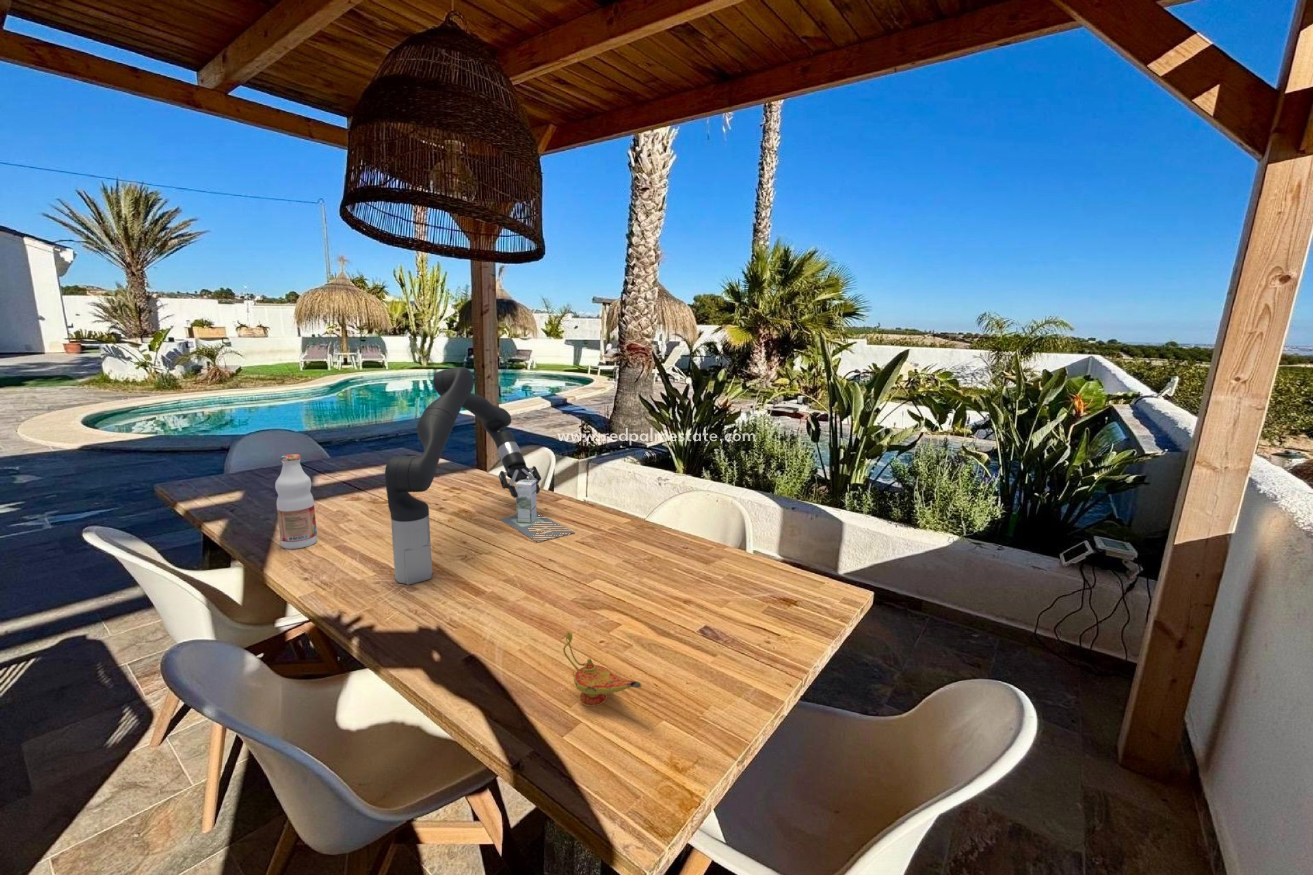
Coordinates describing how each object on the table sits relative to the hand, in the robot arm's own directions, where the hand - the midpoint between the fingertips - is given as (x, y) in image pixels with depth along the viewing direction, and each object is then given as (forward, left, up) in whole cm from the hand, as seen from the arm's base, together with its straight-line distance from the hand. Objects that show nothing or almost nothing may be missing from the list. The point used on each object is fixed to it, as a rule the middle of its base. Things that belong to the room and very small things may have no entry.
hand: (527, 494), depth 186 cm
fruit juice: (+24, +65, -10) cm, 70 cm away
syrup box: (0, 0, -10) cm, 10 cm away
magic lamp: (-94, +35, -10) cm, 101 cm away
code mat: (-6, 0, -10) cm, 12 cm away
